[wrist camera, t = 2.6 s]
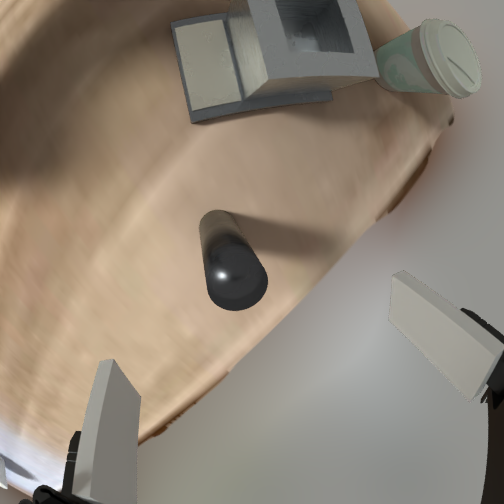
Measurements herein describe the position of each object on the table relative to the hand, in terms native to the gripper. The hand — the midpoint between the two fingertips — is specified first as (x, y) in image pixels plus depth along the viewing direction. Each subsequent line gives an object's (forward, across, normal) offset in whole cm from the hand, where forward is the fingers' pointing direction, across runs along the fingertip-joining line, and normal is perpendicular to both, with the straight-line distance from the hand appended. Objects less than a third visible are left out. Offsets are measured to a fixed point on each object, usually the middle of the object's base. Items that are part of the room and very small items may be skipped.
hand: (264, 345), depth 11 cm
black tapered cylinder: (+17, 0, 0) cm, 17 cm away
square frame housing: (+17, +7, +16) cm, 25 cm away
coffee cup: (+18, +24, +15) cm, 33 cm away
